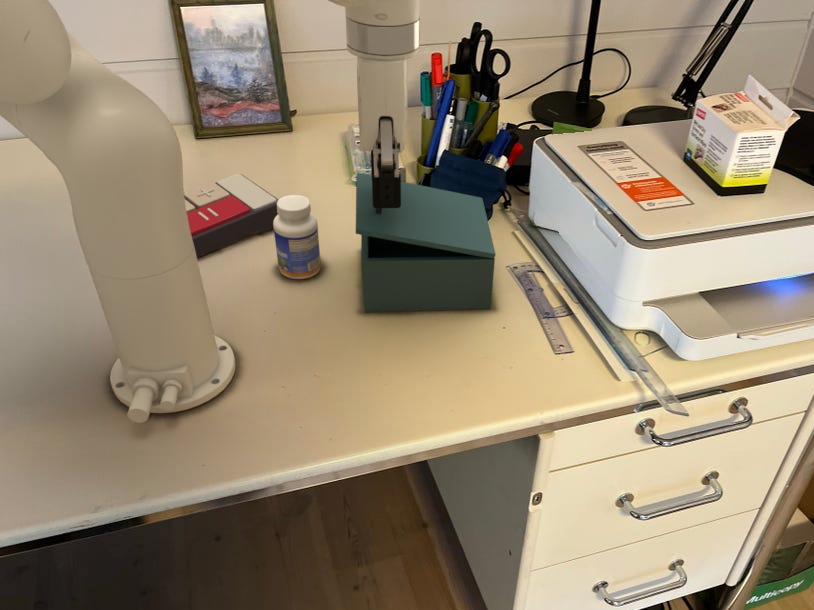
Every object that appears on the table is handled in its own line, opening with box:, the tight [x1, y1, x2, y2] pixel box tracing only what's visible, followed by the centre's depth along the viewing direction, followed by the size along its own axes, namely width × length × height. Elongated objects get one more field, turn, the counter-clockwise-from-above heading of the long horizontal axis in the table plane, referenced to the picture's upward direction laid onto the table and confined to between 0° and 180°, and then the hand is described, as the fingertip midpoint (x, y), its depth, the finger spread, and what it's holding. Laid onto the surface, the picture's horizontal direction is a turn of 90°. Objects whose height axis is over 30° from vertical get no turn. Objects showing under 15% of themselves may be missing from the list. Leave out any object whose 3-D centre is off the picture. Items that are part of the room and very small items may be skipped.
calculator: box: [184, 173, 279, 258], centre depth 103 cm, size 11×4×15 cm
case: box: [360, 235, 496, 313], centre depth 95 cm, size 16×14×7 cm
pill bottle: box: [273, 194, 322, 280], centre depth 95 cm, size 5×5×10 cm
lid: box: [355, 157, 497, 259], centre depth 90 cm, size 16×14×6 cm
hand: (385, 192), depth 89 cm, fingers closed on lid, 5 cm apart
